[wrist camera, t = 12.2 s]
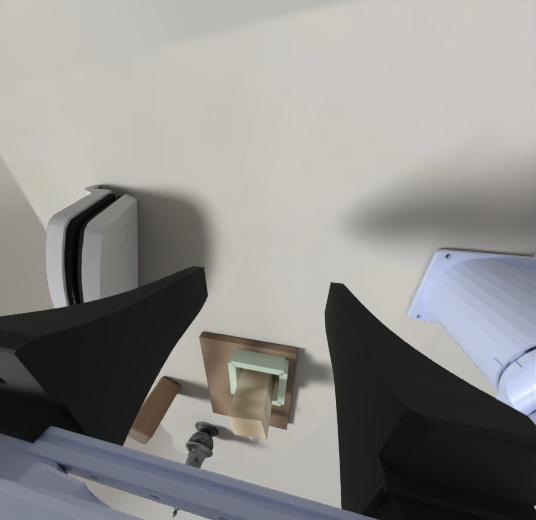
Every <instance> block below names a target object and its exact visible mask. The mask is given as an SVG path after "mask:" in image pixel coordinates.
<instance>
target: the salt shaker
mask: <svg viewBox="0 0 536 520" xmlns="http://www.w3.org/2000/svg"><path fill="white" fill-rule="evenodd" d="M196 429H197V431H198V432H196V433H195V434H193V435H192V437H191V438H190V439H189V442H187V443H186V448H187V449H188V451H189V454H188V458H187V461H186V465H189V466H193V467H196V468H200V467H201V465H202V463H203V461H204V459H205V458H206V457H211V456H212V454H213V452H212V449H213V440H212V437H213V436H216V435H217V434H218V430H217V428H216V427H214V426H213V425H211V424H209V423H205V422H198V423H196ZM174 509H175V510H174V512H173V517H174V516H175V515H176V514H177V510H179V509H177V508H174Z"/></svg>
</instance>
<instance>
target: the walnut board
mask: <svg viewBox="0 0 536 520" xmlns="http://www.w3.org/2000/svg"><path fill="white" fill-rule="evenodd" d="M199 338H200V343H201V349H202V354H203V360H204V365H205V371H206V376H207V382H208V387H209V392H210V398H211V403H212V409H213V413H218V414H222V415H226V416H228V413H229V409H230V406H231V403H232V400H233V397H234V394H231V388H230V378H229V368H228V362H229V359H230V357H231V354H232V352H233V350H236V348H237V349H243V350H248V351H254V352H259V353H265V354H271V355H276V356H282V357H285V360H289V364H288V375H287V383H286V392H285V401H284V405H282V404H281V405H280V406H277V405H273V404H272V407H271V415H270V420H269V426H273V427H277V428H281V429H285V430H287V423H288V416H289V409H290V402H291V395H292V388H293V381H294V373H295V366H296V359H297V348H296V347H290V346H284V345H278V344H272V343H266V342H260V341H255V340H249V339H243V338H237V337H231V336H225V335H219V334H214V333H208V332H202V333H201V335H200V337H199ZM242 369H243V368H241V372H242ZM279 376H280V375H276V374H274V377H275V387H279Z"/></svg>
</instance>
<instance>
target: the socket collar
mask: <svg viewBox="0 0 536 520" xmlns="http://www.w3.org/2000/svg"><path fill="white" fill-rule="evenodd" d="M288 364H289V360H285V357H282V356H276V355H271V354H265V353H259V352H254V351H248V350H243V349H237V348H236V350H233V352H232V354H231V357H230V359H229V362H228V368H229V378H230V388H231V394H235V391H236V387H237V384H238V381H239V378H240V375H241V368H245V369H250V370H255V371H260V372H265V373H271V374H276V375H280V376H279V387H275V386H274V393H273V400H272V404H273V405H277V406H280V405H281V404H282V405H284V401H285V392H286V383H287V375H288Z"/></svg>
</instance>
